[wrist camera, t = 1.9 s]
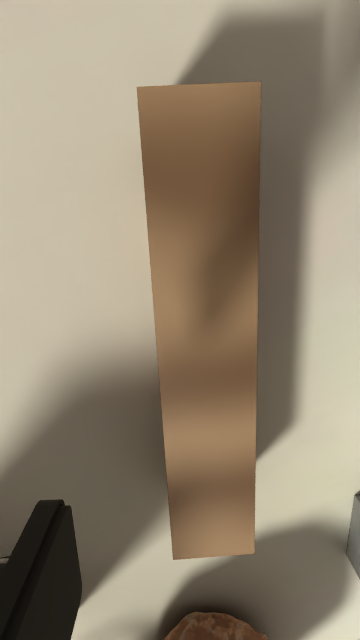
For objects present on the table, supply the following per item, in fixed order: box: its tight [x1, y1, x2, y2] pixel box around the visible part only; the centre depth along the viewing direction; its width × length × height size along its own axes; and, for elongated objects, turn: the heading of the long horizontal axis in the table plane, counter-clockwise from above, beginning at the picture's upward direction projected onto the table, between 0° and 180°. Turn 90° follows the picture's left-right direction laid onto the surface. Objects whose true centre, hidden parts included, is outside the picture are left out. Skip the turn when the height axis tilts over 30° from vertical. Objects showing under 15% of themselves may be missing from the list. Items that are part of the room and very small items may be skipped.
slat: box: [137, 81, 261, 560], centre depth 16 cm, size 20×4×5 cm, turn 3°
